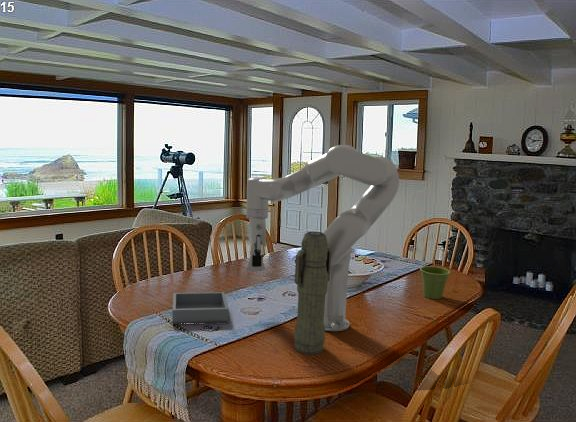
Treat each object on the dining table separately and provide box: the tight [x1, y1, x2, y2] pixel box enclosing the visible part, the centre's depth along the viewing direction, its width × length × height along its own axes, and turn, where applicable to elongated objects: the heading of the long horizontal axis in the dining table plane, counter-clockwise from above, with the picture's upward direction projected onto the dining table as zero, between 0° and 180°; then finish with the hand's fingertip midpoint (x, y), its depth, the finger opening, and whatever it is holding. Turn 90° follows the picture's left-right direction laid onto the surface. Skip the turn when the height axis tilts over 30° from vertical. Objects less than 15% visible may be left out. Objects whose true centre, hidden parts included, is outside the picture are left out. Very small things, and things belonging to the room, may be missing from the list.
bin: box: [171, 291, 230, 325], centre depth 179 cm, size 18×18×5 cm
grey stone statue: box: [293, 231, 331, 355], centre depth 153 cm, size 9×12×35 cm
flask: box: [245, 245, 266, 272], centre depth 183 cm, size 7×7×10 cm
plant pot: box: [419, 265, 451, 300], centre depth 211 cm, size 12×12×11 cm
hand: (255, 263), depth 183 cm, fingers closed on flask, 4 cm apart
